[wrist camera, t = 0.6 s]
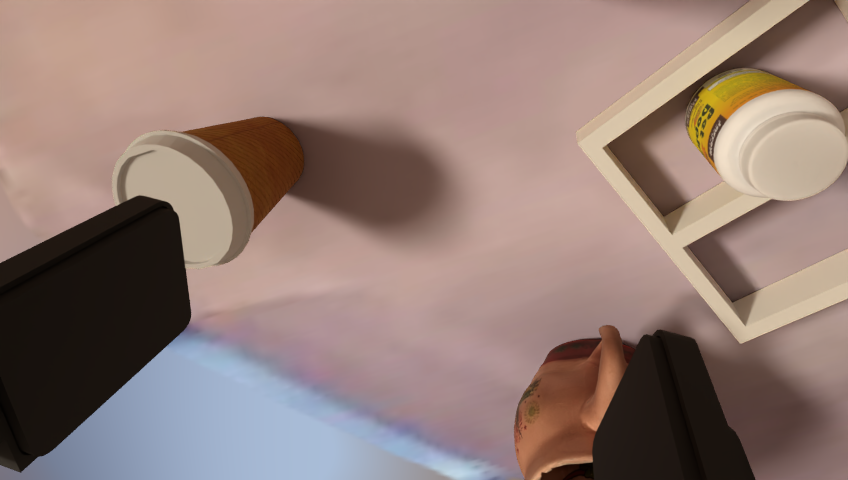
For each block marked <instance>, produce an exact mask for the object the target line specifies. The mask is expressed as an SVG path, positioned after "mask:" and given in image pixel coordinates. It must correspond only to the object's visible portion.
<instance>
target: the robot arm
mask: <svg viewBox="0 0 848 480" xmlns="http://www.w3.org/2000/svg"><path fill="white" fill-rule="evenodd" d="M190 318H191V308H190V300H189V292H188V284H187V276H186V268H185V260H184V253H183V245H182V237H181V229H180V221H179V216H178V214H177V213H176V212H175V211H174V209H173V207H172V205H171V204H170V203H168V202H166V201H162V200H158V199H155V198H151V197H147V196H141V195H139V196H135V197H133V198H131V199H129V200H127V201H125V202H123V203H121V204H119V205H117V206H115V207H113V208H111V209H109V210H107V211H105V212H103V213H101V214H99V215H97V216H95V217H93V218H91V219H89V220H87V221H84V222H82V223H80V224H78V225H76V226H74V227H72V228H70V229H68V230H66V231H64V232H62V233H60V234H58V235H56V236H54V237H52V238H50V239H48V240H46V241H44V242H42V243H40V244H38V245H36V246H34V247H32V248H30V249H28V250H26V251H24V252H22V253H20V254H18V255H16V256H14V257H12V258H10V259H8V260H6V261H4V262H2V263H0V465H2V466H4V467H7V468H10V469H13V470H15V471H18V472H21V471H23V470H24V469H25V468H26V467H27V466H28V465H30V464H31V463H32V462H33V461H34V460H35V459H36V458H37V457H39V456H44V455H46V454H48V453H49V452H50V451H52V450H53V449H54V448H56V447H57V446H58V445H59V444H60V443H61V442H62V441H63V440H64V439H65V438H66V437H68V435H70V434H71V433H72V432H73V431H74V430H75V429H76V428H77V427H78V426H79V425H81V424H82V423H83V422H84V421H85V420H86V419H87V418H88V417H89V416H91V415H92V414H93V413H94V412H95V411H96V410H97V409H98V408H99V407H100V406H101V405H102V404H104V403H105V402H106V401H107V400H108V399H109V398H110V397H111V396H112V395H114V394H115V393H116V392H117V391H118V390H119V389H120V388H121V387H122V386H123V385H125V384H126V383H127V382H128V381H129V380H130V379H131V378H132V377H133V376H134V375H135V374H137V373H138V372H139V371H140V370H141V369H142V368H143V367H144V366H145V365H146V364H147V363H149V362H150V361H151V360H152V359H153V358H154V357H155V356H156V355H157V354H158V353H159V352H161V351H162V350H163V349H164V348H165V347H166V346H167V345H168V344H169V343H171V342H172V341H173V340H174V339H175V338H176V337H177V336H178V335H179V334H180V333H181V332H183V331H184V330H185V328H186V327H187V325H188V324H189V321H190ZM592 457H593V472H594V480H755V477H754V475H753V472H752V470H751V467H750V465H749V462H748V459H747V457H746V454H745V452H744V449H743V447H742V444H741V442H740V439H739V438H738V436H737V434H736V432H735V431H734V430H733V429H731V428H730V427H729V426H728V424H727V422H726V419H725V416H724V414H723V411H722V408H721V406H720V403H719V400H718V398H717V395H716V393H715V390H714V387H713V385H712V382H711V379H710V377H709V374H708V371H707V369H706V366H705V364H704V361H703V358H702V356H701V353H700V350H699V348H698V345H697V343H696V341H695V339H693V338H690V337H686V336H683V335H679V334H675V333H671V332H667V331H663V330H657V331H656V332H655V333H654V334H653V336H650V335H643V337H642V338H641V339H640V341H639V343H638V345H637V348H636V350H635V352H634V354H633V356H632V358H631V360H630V362H629V364H628V366H627V368H626V371H625V373H624V375H623V377H622V379H621V381H620V383H619V385H618V387H617V389H616V391H615V394H614V396H613V398H612V400H611V402H610V404H609V406H608V408H607V410H606V412H605V414H604V417H603V419H602V421H601V423H600V425H599V427H598V429H597V431H596V434H595V437H594V440H593V447H592Z"/></svg>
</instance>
